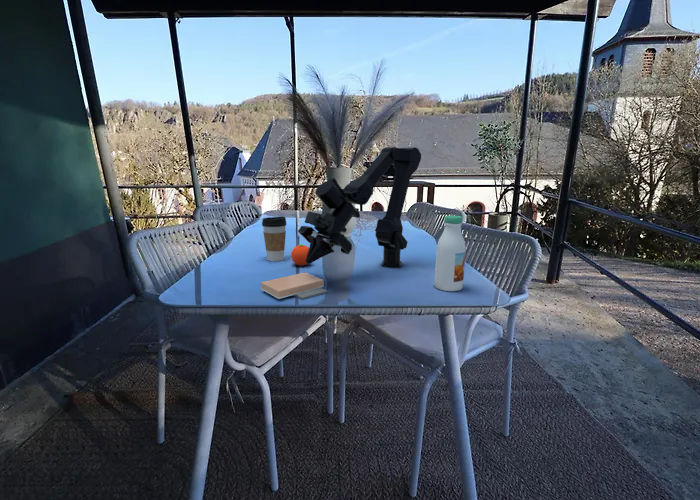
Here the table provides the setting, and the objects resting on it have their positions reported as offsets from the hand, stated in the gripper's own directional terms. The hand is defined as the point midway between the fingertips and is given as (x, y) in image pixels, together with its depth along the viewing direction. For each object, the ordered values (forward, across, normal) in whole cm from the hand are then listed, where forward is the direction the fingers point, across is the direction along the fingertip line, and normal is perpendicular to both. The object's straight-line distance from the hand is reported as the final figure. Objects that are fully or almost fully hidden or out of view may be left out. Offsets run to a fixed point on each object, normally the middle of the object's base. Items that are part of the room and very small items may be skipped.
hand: (307, 263), depth 99 cm
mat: (+7, 0, +3) cm, 7 cm away
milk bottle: (-16, +26, +26) cm, 40 cm away
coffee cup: (-1, -31, +11) cm, 33 cm away
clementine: (-3, -20, +13) cm, 23 cm away
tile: (+2, 0, +5) cm, 6 cm away
